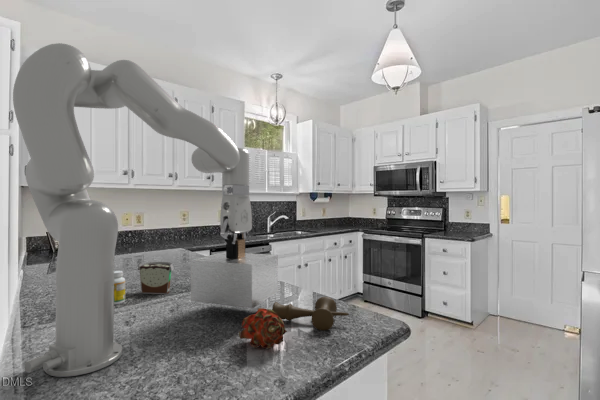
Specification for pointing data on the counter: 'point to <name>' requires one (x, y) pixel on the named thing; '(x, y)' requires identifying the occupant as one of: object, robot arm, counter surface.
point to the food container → (155, 277)
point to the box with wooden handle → (234, 278)
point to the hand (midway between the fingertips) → (235, 256)
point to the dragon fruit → (263, 328)
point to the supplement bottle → (119, 287)
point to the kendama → (311, 312)
